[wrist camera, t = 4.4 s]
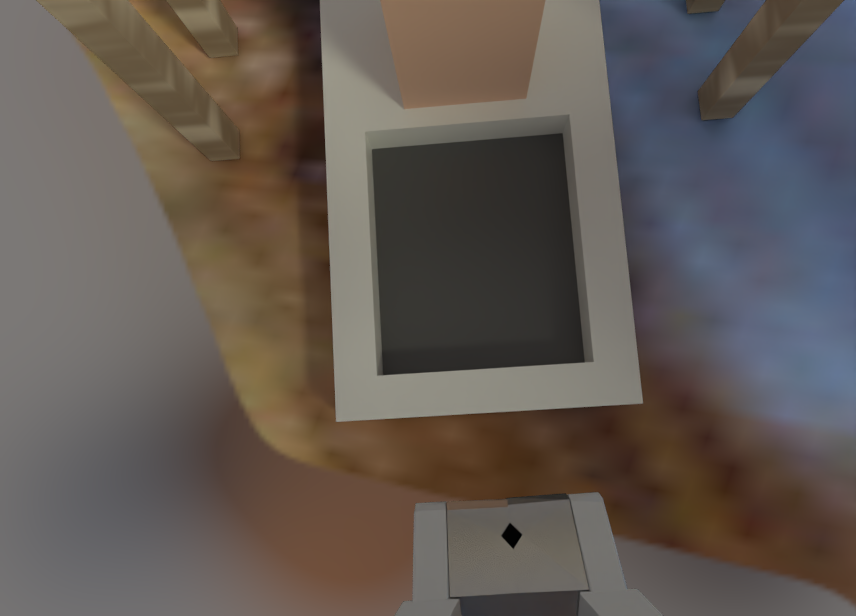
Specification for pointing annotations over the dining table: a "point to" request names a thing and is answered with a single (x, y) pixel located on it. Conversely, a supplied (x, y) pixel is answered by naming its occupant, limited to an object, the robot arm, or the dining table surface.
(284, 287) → the dining table surface
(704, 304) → the dining table surface
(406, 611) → the robot arm
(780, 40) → the arch
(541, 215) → the tray
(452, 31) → the block
